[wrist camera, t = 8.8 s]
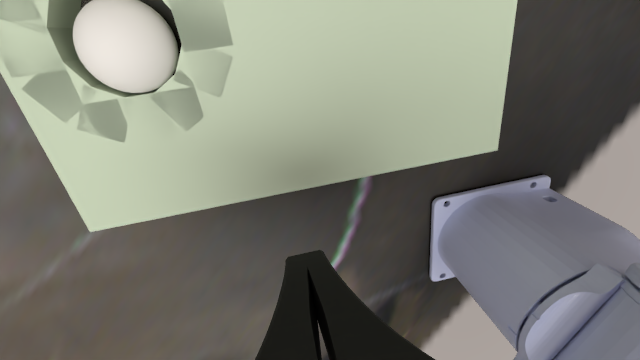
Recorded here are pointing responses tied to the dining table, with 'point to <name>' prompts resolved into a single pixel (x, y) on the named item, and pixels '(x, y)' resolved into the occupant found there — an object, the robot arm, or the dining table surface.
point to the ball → (125, 45)
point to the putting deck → (261, 99)
